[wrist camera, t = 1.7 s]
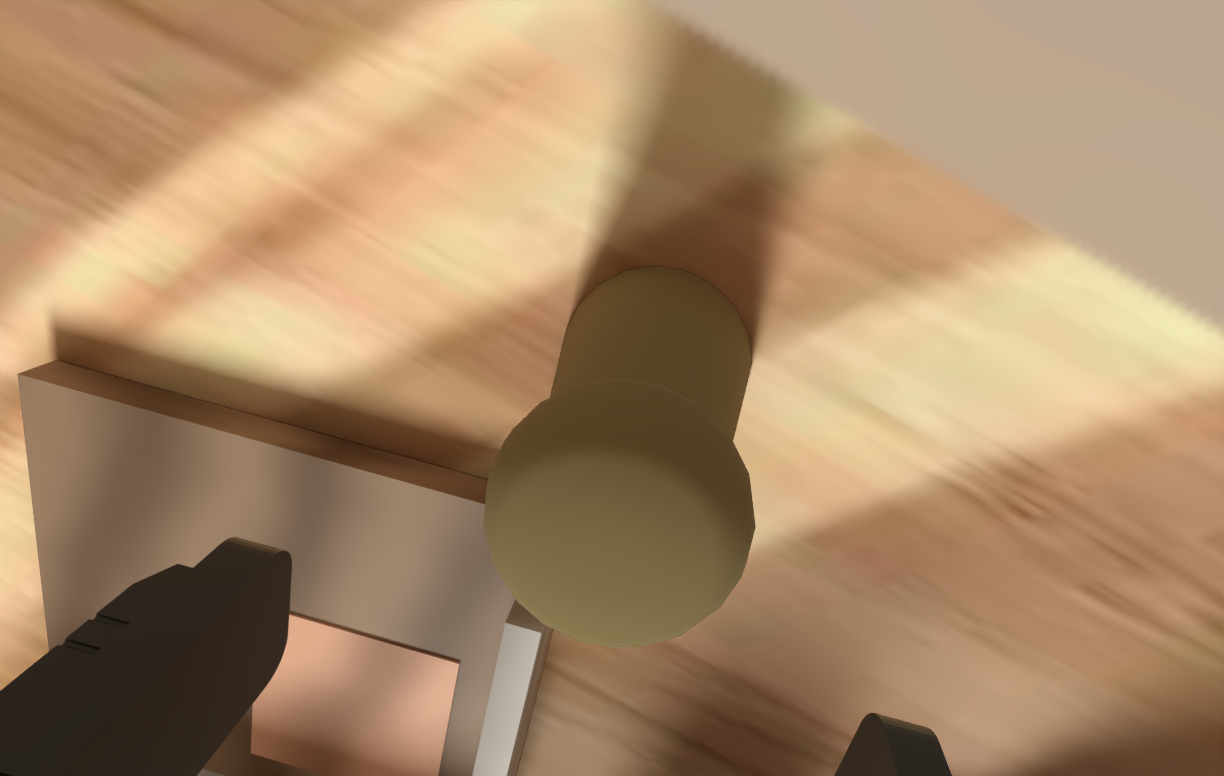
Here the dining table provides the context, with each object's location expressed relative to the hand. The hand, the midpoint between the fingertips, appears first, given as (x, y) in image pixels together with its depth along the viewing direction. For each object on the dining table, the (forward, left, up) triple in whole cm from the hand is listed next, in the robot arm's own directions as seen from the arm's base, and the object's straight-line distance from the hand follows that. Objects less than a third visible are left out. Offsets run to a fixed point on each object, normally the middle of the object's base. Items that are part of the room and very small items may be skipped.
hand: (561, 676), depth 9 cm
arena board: (+11, +15, -14) cm, 23 cm away
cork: (0, 0, -14) cm, 14 cm away
